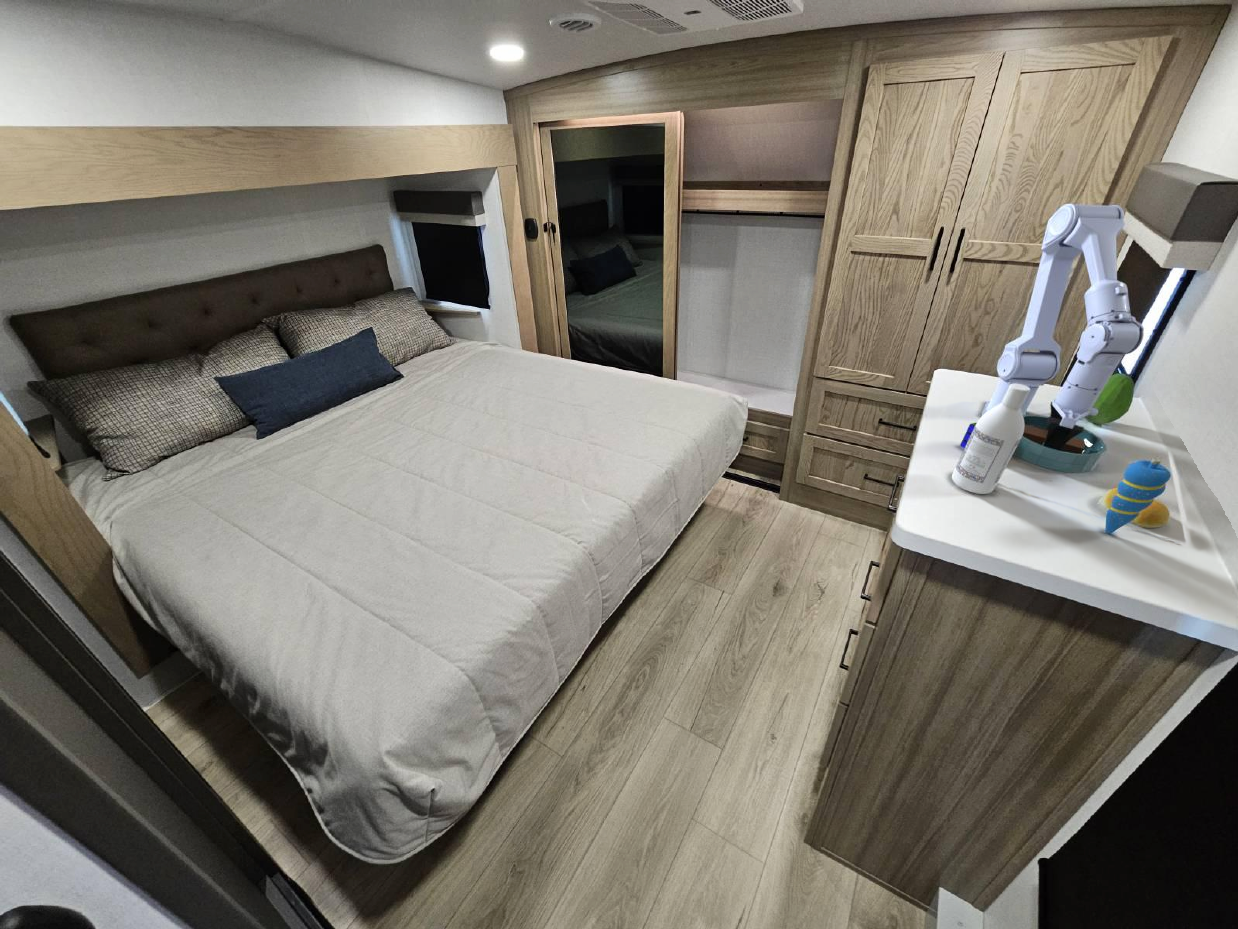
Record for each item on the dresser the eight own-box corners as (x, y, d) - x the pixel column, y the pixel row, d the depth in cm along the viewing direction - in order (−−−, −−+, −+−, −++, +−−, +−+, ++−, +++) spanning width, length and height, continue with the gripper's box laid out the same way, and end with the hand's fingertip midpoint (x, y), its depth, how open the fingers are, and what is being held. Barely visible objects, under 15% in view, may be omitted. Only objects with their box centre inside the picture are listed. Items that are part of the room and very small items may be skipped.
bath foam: (979, 473, 99) (1027, 378, 88) (1001, 495, 93) (1055, 396, 82) (943, 473, 99) (987, 377, 88) (963, 494, 93) (1012, 395, 82)
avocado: (1097, 432, 114) (1128, 382, 107) (1065, 415, 120) (1092, 367, 114) (1125, 428, 116) (1157, 379, 109) (1091, 412, 122) (1120, 365, 115)
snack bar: (1016, 446, 107) (1024, 432, 105) (1018, 438, 110) (1026, 424, 108) (1075, 463, 102) (1084, 449, 100) (1076, 454, 105) (1085, 440, 103)
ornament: (1114, 546, 83) (1172, 469, 74) (1080, 526, 87) (1131, 452, 78) (1132, 538, 84) (1191, 462, 76) (1098, 519, 88) (1150, 445, 80)
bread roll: (1158, 537, 85) (1174, 518, 83) (1092, 510, 90) (1105, 492, 88) (1167, 516, 89) (1182, 498, 87) (1103, 492, 95) (1115, 475, 93)
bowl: (1004, 425, 116) (1013, 407, 113) (1094, 450, 107) (1106, 431, 105) (994, 454, 105) (1004, 436, 103) (1093, 485, 97) (1106, 465, 94)
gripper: (1111, 403, 91) (1072, 466, 98) (1110, 377, 100) (1074, 437, 108) (1062, 391, 94) (1028, 454, 102) (1066, 368, 104) (1034, 426, 112)
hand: (1049, 444), depth 105 cm, fingers open, 7 cm apart
